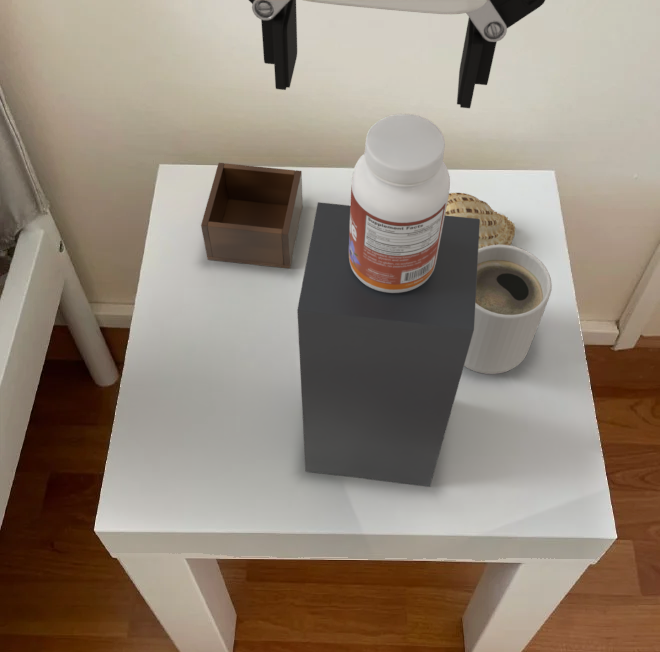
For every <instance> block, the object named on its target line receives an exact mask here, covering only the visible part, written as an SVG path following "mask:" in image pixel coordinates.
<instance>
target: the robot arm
mask: <svg viewBox="0 0 660 652" xmlns="http://www.w3.org/2000/svg"><path fill="white" fill-rule="evenodd" d="M248 1H249V3H251V4H252V6H251V11H252V13H253V15H254V16H255V17H256V18H258V19H259V20H260V21H261V35H262V37H261V38H262V53H263V63H264V64H267V65H273V66H274V67H273V68H274V83H275V84H274V85H275V90H280V91H282V90H283V91H286V90H287V89H288V88H289V89H290V88H291V84H292V79H293V75H294V71H295V66H296V62H297V57H298V21H297V19H298V18H297V0H248ZM303 1H304V2H311V3H318V4H324V5H325V4H326V5H333V6H335V5H336V6H344V7H353V8H354V7H355V8H367V9H376V10H385V11H386V10H387V11H398V12H407V13H409V12H410V13H418V14H419V13H421V14H433V15H461V14H466V15H467V16H468V20H467V24H466V25H467V26H466V31H465V37H464V41H463V42H464V43H463V48H462V54H461V58H460V63H459V71H458V83H457V96H456V98H457V99H456V105H459V107H460V108H462V109H471V106H472V101H473V97H474V91H475V87H476V85H483V86H487V85H488V83H489V80H490V76H491V75H490V74H491V70H492V65H493V60H494V56H495V51H496V47H497V42H499V41H501V40H503V39H504V38H505V36H506V35H507V32H508V29H509V28H511V27H512V26H513V25H515V24H517V23H518V22H519V21H521V20H522V19H524V18H526V17H527V16H528V15H530V14H531V13H533V12H534V11H536V10H537V9H539V8H540V7H542V5H544V4H545V2H546V0H303Z"/></svg>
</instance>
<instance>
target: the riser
mask: <svg viewBox="0 0 660 652" xmlns="http://www.w3.org/2000/svg"><path fill="white" fill-rule="evenodd" d="M350 206H351V205H348V204H340V203H339V204H338V203H337V204H336V203H329V202H320V201H319V202H317V204H316V210H315V213H314V221H313V226H312V231H311V236H310V242H309V246H308V250H307V251H308V252H307V257H306V262H305V267H304V273H303V279H302V284H301V289H300V293H299V294H300V295H299V300H298V305H297V310H296V311H297V331H298V333H297V334H298V351H299V371H300V372H299V373H300V389H301V411H302V430H303V431H302V434H303V451H304V452H303V453H304V472H307V473H314V474H323V475H331V476H339V477H346V478H347V477H348V478H355V479H356V478H357V479H362V480H371V481H379V482H386V483H387V482H388V483H395V484H405V485H410V486H411V485H412V486H420V487H426V488H427V487H428V488H431V486H432V482H433V477H434V474H435V471H436V468H437V464H438V461H439V456H440V453H441V449H442V446H443V442H444V439H445V435H446V431H447V429H448V425H449V421H450V418H451V414H452V411H453V406H454V403H455V399H456V396H457V392H458V388H459V384H460V381H461V377H462V374H463V370H464V368H465V366H464V364H465V360H466V357H467V353H468V349H469V346H470V342H471V339H472V335H473V332H474V321H475V302H476V283H477V264H478V246H479V227H480V219H475V218H466V217H456V216H446V215H445V217H444V223H443V228H442V233H441V239H440V244H439V250H438V256H437V260H436V264H435V268H434V271H433V272H432V274H431V276H430V277H429V278H428V280H427V281H426V282H425V283H423V284H422V285H420V286H419V287H417V288H415V289H413V290H410V291H406V292H401V293H387V292H381V291H377V290H375V289H372V288H370V287H368V286H366V285H365V284H364V283H362V282H361V281H360V280H359V279H358V278H357V276H356V275H355V274H354V272H353V270H352V268H351V265H350V261H349V231H350Z"/></svg>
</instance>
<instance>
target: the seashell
mask: <svg viewBox="0 0 660 652" xmlns="http://www.w3.org/2000/svg"><path fill="white" fill-rule="evenodd" d="M445 215H446V216H456V217H466V218H475V219H480V227H479V246H478V249H480V248H483V247H486V246H490V245H510V246H511V245H512V243H513V240H514V238H515V235H516V225H515V223H513V221H512V220H510V219H509V217H508V216H506V215H504V214H503V213H502V214H500V213H498V212H497V211H495V210H493V208H492V206H490V204H488V203H487V202H486V201H484V200H481V199H479V198H477V197H476V196H474V195H472V194H469V193H466V192H465V193H464V192H449V197H448V201H447V207H446V212H445Z"/></svg>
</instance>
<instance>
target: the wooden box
mask: <svg viewBox="0 0 660 652" xmlns="http://www.w3.org/2000/svg"><path fill="white" fill-rule="evenodd" d="M302 175H303V173H302V170H295V169H286V168H278V167H277V168H276V167H265V166H255V165H247V164H238V163H229V162H227V163H226V162H218V163H217V167H216V170H215V173H214V178H213V181H212V185H211V187H210V188H211V189H210V191H209V195H208V199H207V202H206V206H205V209H204V213H203V217H202V220H201V224H200V228H201V233H202V238H203V242H204V249H205V253H206V258H207V259H206V260H209V261H217V262H227V263H236V264H243V265H244V264H246V265H255V266H263V267H272V268H280V269H282V268H283V269H291V267H292V262H293V257H294V252H295V248H296V247H295V246H296V242H297V238H298V232H299V227H300V222H301V219H302V212H303V206H304V200H303V199H304V198H303V176H302Z"/></svg>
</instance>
